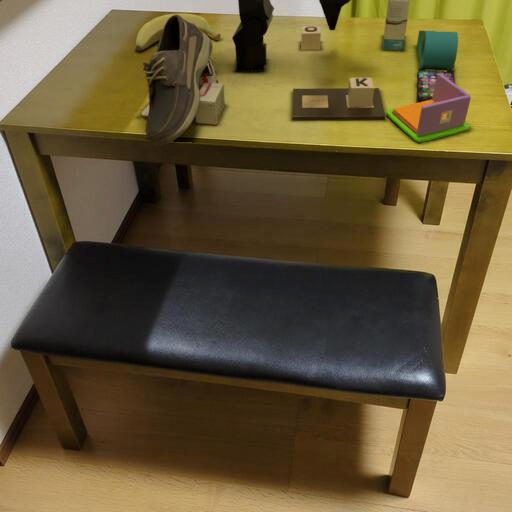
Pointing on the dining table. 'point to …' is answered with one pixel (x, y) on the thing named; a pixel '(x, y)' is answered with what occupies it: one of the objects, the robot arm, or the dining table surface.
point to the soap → (145, 111)
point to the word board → (333, 105)
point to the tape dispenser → (437, 49)
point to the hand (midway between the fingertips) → (331, 21)
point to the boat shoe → (175, 79)
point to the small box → (210, 103)
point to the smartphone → (430, 81)
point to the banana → (155, 27)
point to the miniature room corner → (434, 113)
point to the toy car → (208, 74)
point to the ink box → (395, 24)
